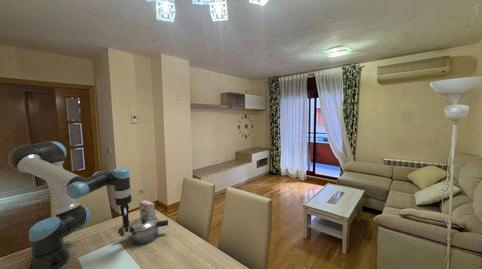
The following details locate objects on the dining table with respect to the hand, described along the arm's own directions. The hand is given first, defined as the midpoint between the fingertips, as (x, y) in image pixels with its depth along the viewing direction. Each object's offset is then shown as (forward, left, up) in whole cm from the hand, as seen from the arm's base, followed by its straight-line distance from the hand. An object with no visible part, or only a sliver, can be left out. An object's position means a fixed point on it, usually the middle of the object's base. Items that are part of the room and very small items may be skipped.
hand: (126, 235), depth 109 cm
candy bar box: (+6, +26, -10) cm, 28 cm away
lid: (+5, +9, -1) cm, 10 cm away
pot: (+7, +11, -10) cm, 16 cm away
